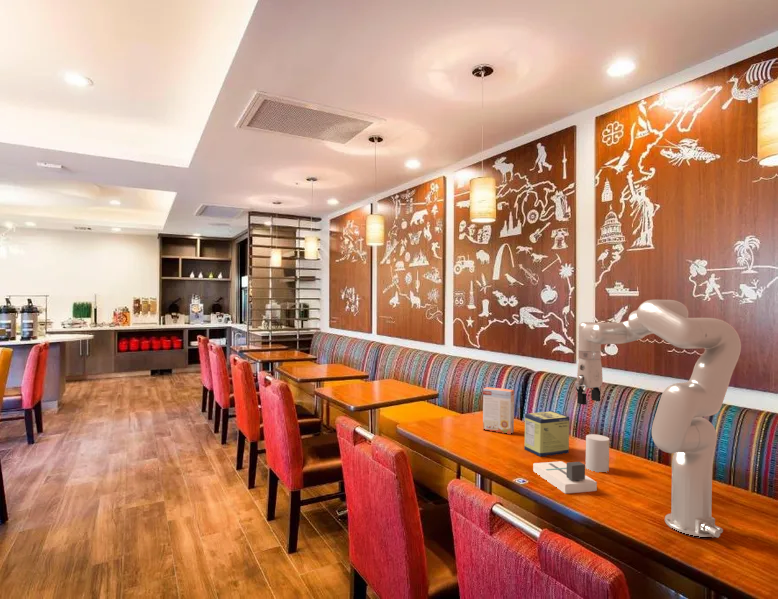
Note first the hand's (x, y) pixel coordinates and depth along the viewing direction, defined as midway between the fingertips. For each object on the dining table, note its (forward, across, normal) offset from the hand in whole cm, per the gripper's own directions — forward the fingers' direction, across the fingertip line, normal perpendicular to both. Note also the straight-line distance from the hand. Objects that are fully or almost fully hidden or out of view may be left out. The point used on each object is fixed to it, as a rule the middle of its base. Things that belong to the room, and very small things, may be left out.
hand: (588, 402), depth 166 cm
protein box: (+27, +12, +25) cm, 39 cm away
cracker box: (+27, +18, +56) cm, 65 cm away
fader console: (+27, -11, +3) cm, 30 cm away
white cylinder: (+27, +10, +2) cm, 29 cm away
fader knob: (+24, -14, -3) cm, 28 cm away
